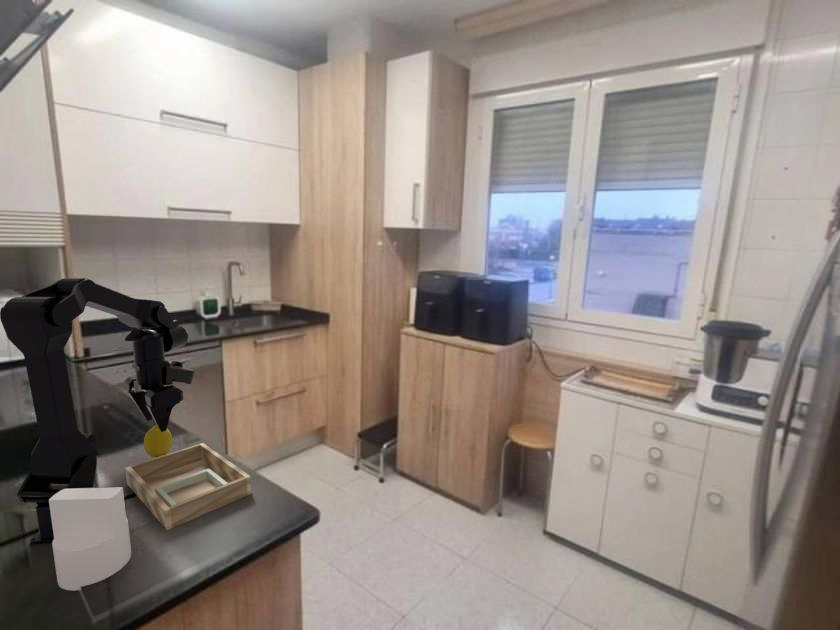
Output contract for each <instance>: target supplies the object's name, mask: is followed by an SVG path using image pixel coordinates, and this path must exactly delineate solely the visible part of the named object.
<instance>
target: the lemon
mask: <svg viewBox="0 0 840 630" xmlns="http://www.w3.org/2000/svg"><path fill="white" fill-rule="evenodd" d="M172 446H173V435H172V433H171V431H170V430H169V429H168V428H167V430H166V431H164V432H161V431H160V429H159V428H158V426H157V424H155V425H154V426H153V427H150V429H148V431H146V433H145V435H144V438H143V447H144V448H143V449H144V450H145V453H146V454H147V455H148V456H149V457H152V458H157V457H160V456H163V455H166V454H169V453H170V450H171V449H172Z"/></svg>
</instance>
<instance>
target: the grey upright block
mask: <svg viewBox="0 0 840 630" xmlns="http://www.w3.org/2000/svg"><path fill="white" fill-rule="evenodd" d="M49 506H50V513H51V520H52V527H53V534H54V540H53V541H51V542H52V543H51V545H52V551H53V558H54V559H53V560H54V565H55V566H54V567H55V573H56V581H57V584H58V586H59V588H60V589H63V590H66V591H82V590H83V589H82V587H85V586H89V585H93V584H95V583H99V582H101V581H103V580H106V579H107V578H109V577H110V576H113V575H114V574H115V573H117V572H119V571H121V570H122V569H123V568H124V566H125V565H127V564H128V562H129V561H130V560H131V557H132V546H131V536H130V528H129V520H128V517H127V513H126V506H125V495H124V488H123V487H122V486H121V487H120V486H118V487H116V486H114V487H111V486H110V487H93V488H72V489H63V490H61V491H59V492H58V493H56V494H55V495H53V496H52V497H51V498H50V499H49Z"/></svg>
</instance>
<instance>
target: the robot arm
mask: <svg viewBox="0 0 840 630" xmlns="http://www.w3.org/2000/svg"><path fill="white" fill-rule="evenodd" d="M165 306H166V305H165V304H164V303H163V302H162V301H159V300H154V299H144V298H134V297H132V296H129V295H127V294H124V293H121V292H119V291H116V290H114V289H111V288H109V287H106V286H104V285H101V284H99V283H96V282H94V281H93V280H91V279H89V278H85V277H64V278H61V279H58V280H56V281H55V282H53V283H52V284H50V285H46V286H44V287H41V288H38V289H35V290H33V291H29V292H27V293H25V294H23V295H22V296H15V297H12V298H10V299H9V300H7V301H6V303H5V304H4V306H2V307H1V308H0V322H1V324H2V325H1V326H2V327H3V330H4V332H5V334H6V337H7V340H9V341H10V342H11V343H12V345H14V346H15V347H16V348H17V349H18V351H20V353H22V355H23V357H24V358H23V359H24V363H25V368H26V373H27V379H28V384H29V389H30V393H31V400H32V404H33V409H34V415H35V419H36V425H37V429H38V434H39V439H38V441H37V443H36V444H35V447H34V449H33V450H32V452H31V461H30V463H31V468H30V470H29V471H28V473H27V475H26V477H25V479H24V481H23V482H22V483H21V484H22V485H21V486H20V487H19V489H18V491H17V493H16V496H17V498H18V499H19V500H20V502H21V503H22V504H27V503H35V504H36V506H35V513H36V520H37V521H36V522H37V525H38V531H37V532H36V533H35V534H34V535H33V536H32V537H31V538H30V539H29V540H28V541H29V544H30V545H32V544H41V543H42V544H43V543H49V542H50V543H51V542H53V540H54V534H53V527H52V520H51V513H50V506H49V499H50V498H51V497H52V496H53V495H55V494H56V493H58V492H59V491H61V490H63V489H72V488H94V483H95V478H96V476H95V475H96V472H97V463H98V461H97V456H99V455H100V453H99V452H98V449H97V445H96V443H97V442H96V437H95V435H94V434H93V433H82V432H81V431H80V429H79V428H78V423H77V418H76V411H75V406H74V400H73V395H72V390H71V389H72V388H71V384H70V377H69V372H68V367H67V361H66V354H65V347H66V345H67V343H68V342H69V340H70V338H71V335H72V334H73V320H75V319H76V318H77V317H79V316H80V315H82V314H83V313H84V312H85V309H86V307H89V308H91V309H94V310H98V311H99V312H104V313H107V314H110V315H113V316H116V317H117V319H118V321H119V322H120V323H122V324H124V325H126V326H127V327H130V328H132V329H131V330H130V333H129V334H128V335H127V336H125V338H124V341H125V342H132V348H133V349H132V350H133V359H134V360H133V361H134V362H131V368H133V369H135V375H131V376H128V377H127V378H126V379H125V380H124V389H125V390H126V391H127V394H128V395H129V397H130V398H131V400H132V401H133V402H134V405H136V407H137V408H138V410H139V411H140V413H141V415H142V416H143V417H144V419H145V420H146V421H147V422H149V421H152V420H153V421H154V422H155V425H157V426H158V428H159V429H160V431H161V432H164V431H166V430H167V429H168V426H169V422H170V418H171V415H172V414H171V413H172V410H173V408H174V407H175V406H177V405H178V404H180V403H181V402H183V400H184V391H183V390H181V389H180V388H178V387H177V386H175V385H173V384H174V382H175V383H182V384H187V385H192V382H193V378H194V375H195V372H196V371H195V370H194V369H192V368H189V367H187V366H183V362H181V361H178V360H172V361H171V362H169V361H167V360H166V355H165V353H168V352H171V351H173V350H176V349H179V348H181V347H184V346H185V345H186V344H187V343H188V339H189V333H187V330H186V328H185V327H183V326H182V325H180V324H179V323H180V321H179V320H178V319H173V317H172V315H171V314H170V313H169V310H168V309H167V308H166V307H165Z"/></svg>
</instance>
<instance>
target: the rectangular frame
mask: <svg viewBox="0 0 840 630" xmlns="http://www.w3.org/2000/svg"><path fill="white" fill-rule="evenodd" d="M206 478H208V479H209V480H210V481H212V482H213V483H214V484H215V485H216V486H218V487H220V486H222V485H225V484H227V482H226V481H225V480H223V479H222V478H221V477H219V476H218V475H217V474H216V473H214V472H213V471H212V470H210V469H209V468H208V469H206V470H203V471H200V472H197V473H195V474H192V475H189V476H187V477H184V478H181V479H178V480H176V481H173V482H170V483H167V484H165V485H162V486H159V487H156V488H155V493H156V494H157V495H158V496H159V497H160V499H161V500H162V501H163V502H164V503H165V504H166V505H167V506H168V507H170V506H172V505H175V504H176V503H175V502H174V500H173V499H172V498H171V497H170V496H169V495H168V494H167V493H169V492H171V491H174V490H176V489H179V488H182V487H184V486H187V485H190V484H192V483H195V482H198V481H200V480H203V479H206Z"/></svg>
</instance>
